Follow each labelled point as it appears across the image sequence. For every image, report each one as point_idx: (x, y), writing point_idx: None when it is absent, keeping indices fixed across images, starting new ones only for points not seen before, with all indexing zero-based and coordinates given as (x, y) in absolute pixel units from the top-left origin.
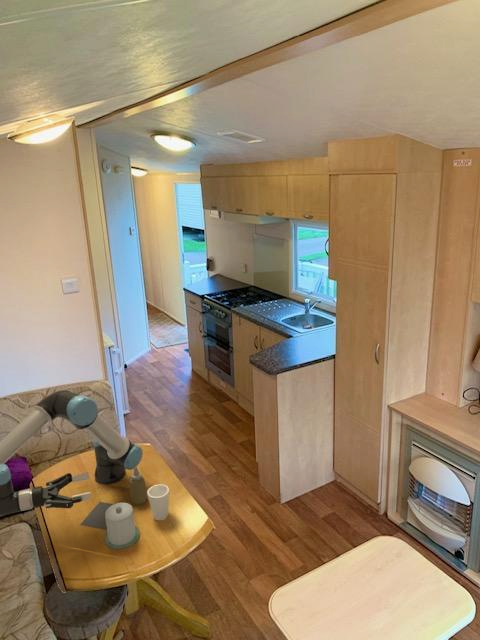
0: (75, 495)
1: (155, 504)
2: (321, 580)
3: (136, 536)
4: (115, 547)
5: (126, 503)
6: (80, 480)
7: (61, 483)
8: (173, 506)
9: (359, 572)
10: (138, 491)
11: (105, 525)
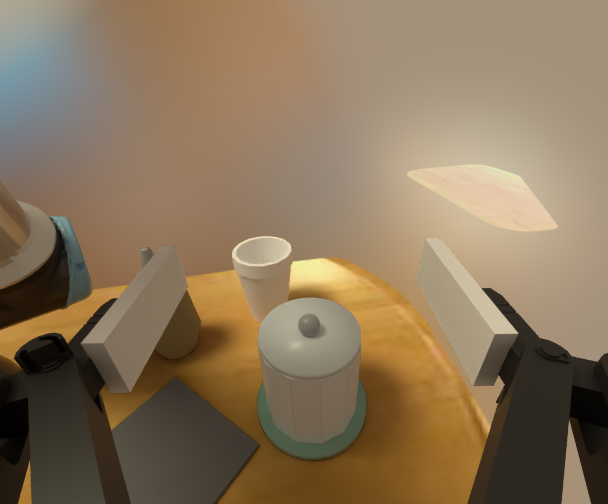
0: (482, 310)
1: (286, 275)
2: (463, 201)
3: None
4: (362, 422)
5: (276, 309)
6: (161, 327)
7: (105, 495)
8: None
9: (449, 186)
10: (190, 308)
11: (227, 453)
